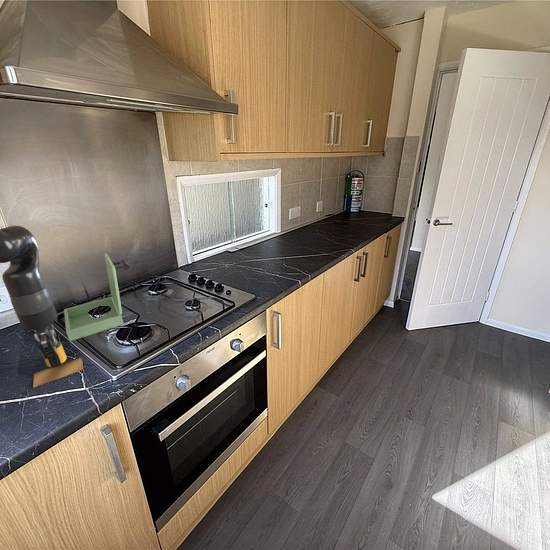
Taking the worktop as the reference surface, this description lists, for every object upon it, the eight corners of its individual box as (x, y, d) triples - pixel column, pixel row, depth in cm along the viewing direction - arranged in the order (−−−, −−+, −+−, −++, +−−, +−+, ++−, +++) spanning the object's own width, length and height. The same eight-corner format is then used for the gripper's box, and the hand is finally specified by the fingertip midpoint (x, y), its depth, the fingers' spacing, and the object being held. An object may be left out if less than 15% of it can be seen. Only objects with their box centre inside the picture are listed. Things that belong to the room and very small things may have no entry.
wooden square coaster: (33, 387, 74) (33, 386, 74) (35, 364, 83) (34, 363, 82) (83, 369, 80) (83, 368, 80) (80, 349, 88) (79, 348, 88)
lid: (112, 267, 92) (132, 264, 95) (104, 253, 105) (122, 251, 108) (119, 314, 98) (138, 310, 101) (111, 295, 111) (127, 292, 114)
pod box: (70, 343, 91) (66, 331, 90) (67, 319, 105) (63, 309, 103) (124, 326, 100) (121, 315, 98) (115, 306, 113) (112, 296, 111)
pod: (46, 369, 78) (40, 354, 76) (46, 360, 81) (40, 345, 79) (67, 362, 80) (61, 347, 78) (66, 353, 83) (60, 339, 81)
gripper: (17, 300, 77) (40, 353, 84) (12, 323, 66) (38, 382, 73) (52, 292, 81) (71, 343, 88) (52, 313, 70) (74, 369, 77)
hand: (56, 360), depth 80 cm, fingers closed on pod, 4 cm apart
